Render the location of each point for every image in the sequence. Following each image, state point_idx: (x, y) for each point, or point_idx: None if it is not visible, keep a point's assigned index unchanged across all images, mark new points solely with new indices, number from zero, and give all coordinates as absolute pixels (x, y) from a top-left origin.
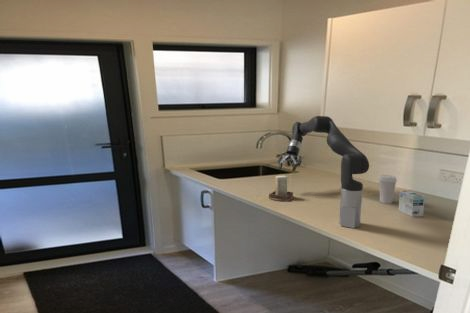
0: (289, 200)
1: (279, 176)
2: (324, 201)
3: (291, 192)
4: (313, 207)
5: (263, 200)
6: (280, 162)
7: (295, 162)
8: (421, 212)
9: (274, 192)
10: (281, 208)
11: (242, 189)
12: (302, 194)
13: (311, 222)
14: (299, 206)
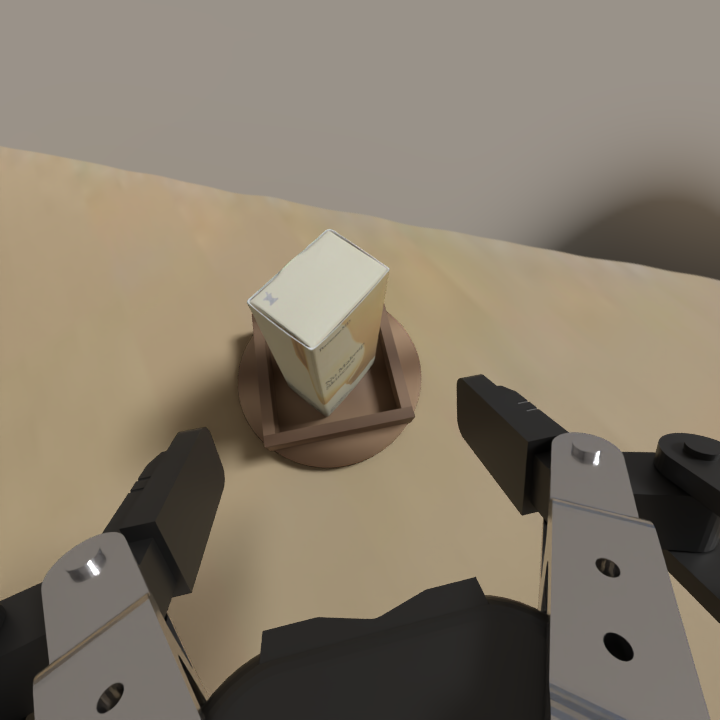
0: (247, 350)
1: (335, 269)
2: (7, 514)
3: (272, 432)
4: (65, 336)
5: None
6: (575, 435)
7: (75, 598)
8: None
9: (388, 360)
10: (225, 223)
11: (664, 362)
12: (236, 583)
13: (35, 166)
14: (151, 301)
